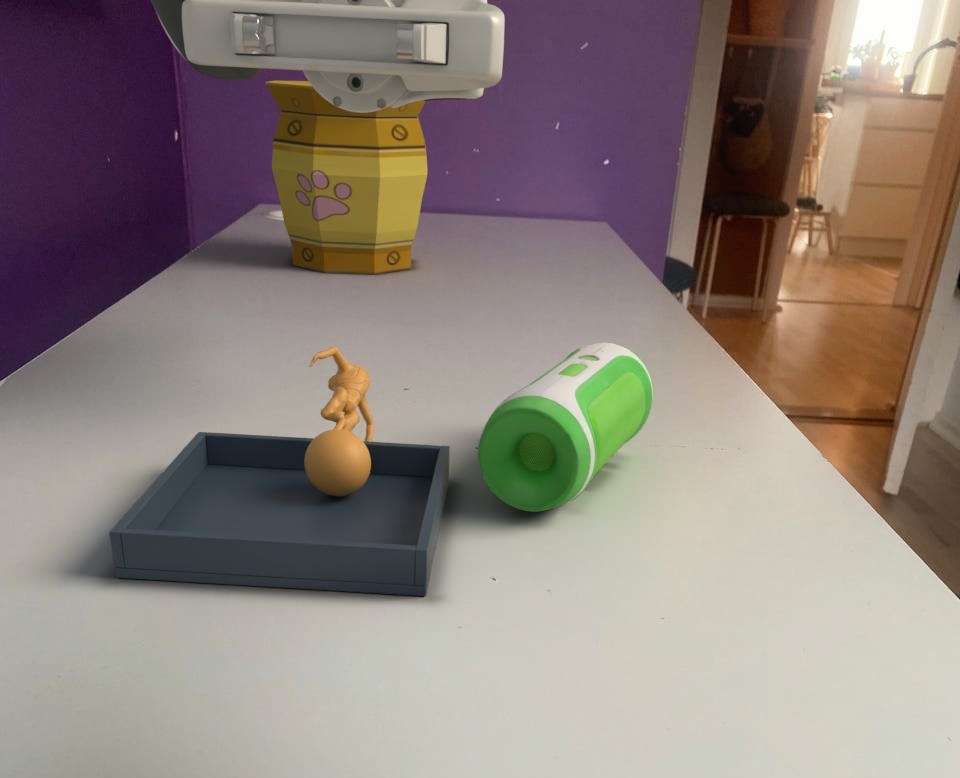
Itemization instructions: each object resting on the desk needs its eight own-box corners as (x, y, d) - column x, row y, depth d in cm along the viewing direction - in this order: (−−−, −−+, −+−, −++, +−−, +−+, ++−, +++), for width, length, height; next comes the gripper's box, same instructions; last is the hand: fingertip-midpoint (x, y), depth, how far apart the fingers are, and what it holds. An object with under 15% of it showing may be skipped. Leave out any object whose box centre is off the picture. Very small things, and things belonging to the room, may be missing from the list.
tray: (115, 578, 54) (108, 532, 52) (202, 469, 68) (198, 431, 67) (426, 596, 53) (427, 550, 52) (448, 484, 68) (449, 445, 66)
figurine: (343, 545, 64) (310, 451, 73) (431, 502, 64) (387, 414, 72) (281, 438, 58) (254, 351, 67) (377, 391, 58) (337, 310, 67)
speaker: (558, 430, 78) (567, 329, 75) (652, 446, 76) (666, 343, 72) (467, 509, 64) (472, 389, 60) (579, 531, 62) (592, 408, 58)
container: (253, 251, 140) (240, 37, 127) (399, 247, 148) (400, 45, 136) (297, 281, 123) (288, 39, 111) (459, 275, 132) (467, 48, 119)
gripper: (209, -21, 70) (142, -37, 58) (509, -6, 70) (504, -19, 58) (216, 84, 74) (155, 90, 62) (504, 99, 73) (498, 107, 61)
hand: (327, 37), depth 60 cm, fingers open, 8 cm apart
